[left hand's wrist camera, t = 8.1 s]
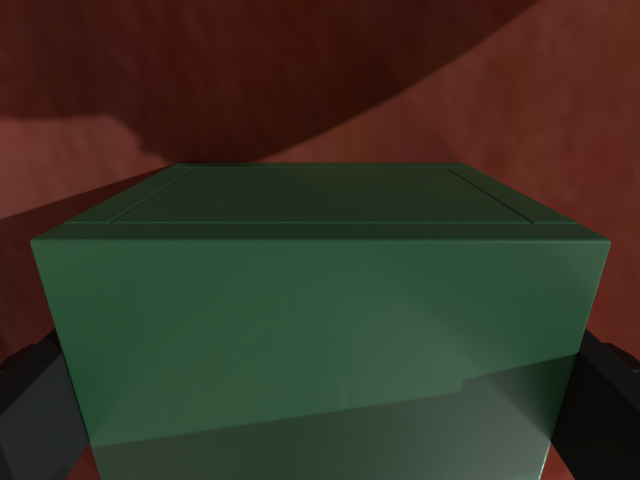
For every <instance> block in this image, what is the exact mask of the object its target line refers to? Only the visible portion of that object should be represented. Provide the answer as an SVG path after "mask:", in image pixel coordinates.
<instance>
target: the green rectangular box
mask: <svg viewBox="0 0 640 480" xmlns="http://www.w3.org/2000/svg"><path fill="white" fill-rule="evenodd" d="M30 245H31V249H32V252H33V255H34V259H35V262H36V265H37V269H38V272H39V275H40V279H41V282H42V285H43V289H44V292H45V295H46V299H47V302H48V305H49V309H50V312H51V315H52V319H53V322H54V325H55V329H56V332H57V335H58V339H59V342H60V346H61V349H62V352H63V356H64V359H65V362H66V366H67V369H68V372H69V376H70V379H71V382H72V386H73V389H74V392H75V396H76V399H77V402H78V406H79V409H80V412H81V416H82V419H83V422H84V426H85V429H86V432H87V436H88V439H89V442H90V446H91V449H92V452H93V456H94V459H95V462H96V466H97V469H98V472H99V476H100V479H101V480H540V477H541V474H542V470H543V467H544V464H545V460H546V457H547V454H548V450H549V447H550V444H551V441H552V437H553V434H554V431H555V427H556V424H557V421H558V417H559V414H560V411H561V407H562V404H563V401H564V397H565V394H566V391H567V387H568V384H569V381H570V378H571V374H572V371H573V368H574V364H575V361H576V358H577V354H578V351H579V348H580V344H581V341H582V338H583V334H584V331H585V328H586V324H587V321H588V318H589V314H590V311H591V308H592V305H593V301H594V298H595V295H596V291H597V288H598V285H599V281H600V278H601V275H602V271H603V268H604V265H605V261H606V258H607V255H608V251H609V248H610V245H611V241H610V239H608V238H606V237H604V236H602V235H600V234H598V233H596V232H594V231H592V230H591V229H589V228H587V227H585V226H583V225H581V224H577V222H576V221H574V220H572V219H570V218H568V217H566V216H564V215H562V214H560V213H558V212H556V211H554V210H552V209H551V208H549V207H547V206H545V205H543V204H541V203H539V202H537V201H535V200H533V199H531V198H529V197H528V196H526V195H524V194H522V193H520V192H518V191H516V190H514V189H512V188H510V187H508V186H506V185H504V184H503V183H501V182H499V181H497V180H495V179H493V178H491V177H489V176H487V175H485V174H483V173H481V172H480V171H478V170H476V169H474V168H471V167H469V166H467V165H465V164H464V163H176V164H175V165H173V166H171V167H169V168H166V169H164V170H163V171H161V172H159V173H157V174H155V175H153V176H151V177H149V178H147V179H145V180H143V181H141V182H140V183H138V184H136V185H134V186H132V187H130V188H128V189H126V190H124V191H122V192H120V193H119V194H117V195H115V196H113V197H111V198H109V199H107V200H105V201H103V202H101V203H99V204H98V205H96V206H94V207H92V208H90V209H88V210H86V211H84V212H82V213H80V214H78V215H76V216H75V217H73V218H71V219H69V220H67V221H65V222H64V223H62V224H60V225H58V226H56V227H54V228H52V229H50V230H48V231H46V232H44V233H42V234H41V235H39V236H37V237H35V238H33V239H31V240H30Z"/></svg>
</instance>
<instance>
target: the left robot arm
mask: <svg viewBox="0 0 640 480" xmlns="http://www.w3.org/2000/svg"><path fill="white" fill-rule="evenodd" d="M551 443H552V444H553V446H554V448H555V449H556V451H557V452H558V454H559V455H560V457H561V458H562V460H563V461H564V463H565V464H566V466H567V467H568V469H569V471H570V472H571V474H572V475H573V477H574V478H575V480H640V361H638V360H637V359H636V358H635V357H634V356H633V355H631V354H629V353H627V352H625V351H624V350H622V349H620V348H618V347H616V346H615V345H613V344H611V343H601V342H600V341H599V340H598V339H597V338H596V337H595V336H594V335H593V334H591V333H590V332H589V331H588V330H587V329H586V328H585V331H584V334H583V338H582V341H581V344H580V348H579V351H578V354H577V358H576V361H575V364H574V368H573V371H572V374H571V378H570V381H569V384H568V387H567V391H566V394H565V397H564V401H563V404H562V407H561V411H560V414H559V417H558V421H557V424H556V427H555V431H554V434H553V437H552V441H551ZM88 444H89V439H88V436H87V432H86V429H85V426H84V422H83V419H82V416H81V412H80V409H79V406H78V402H77V399H76V396H75V392H74V389H73V386H72V382H71V379H70V376H69V372H68V369H67V366H66V362H65V359H64V356H63V352H62V349H61V346H60V342H59V339H58V335H57V332H56V329H53V330H52V331H51V332H50V333H49V334H48V335H47V336H46V337H45V338H43V339H42V340H41V341H40V342H39V343H38V344H30V345H29V346H27V347H25V348H23V349H21V350H20V351H18V352H16V353H14V354H13V355H11V356H9V357H8V358H6V359H5V360H4V361H3V362H2V363H1V364H0V480H65V479H66V477H67V476H68V474H69V473H70V471H71V470H72V468H73V467H74V465H75V464H76V462H77V460H78V459H79V457H80V456H81V454H82V453H83V451H84V450H85V448H86V447H87V445H88Z"/></svg>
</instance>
